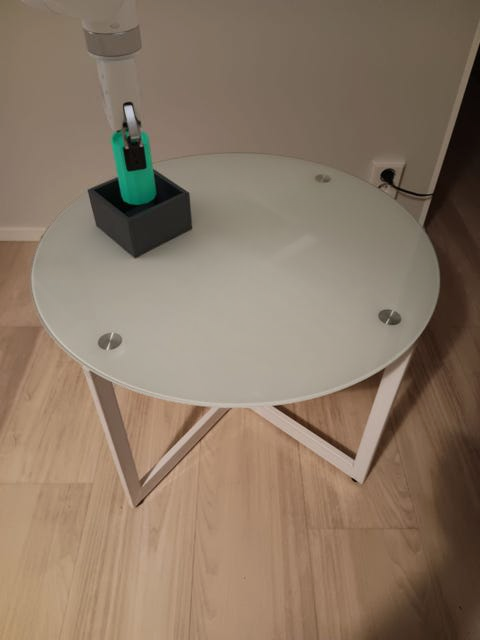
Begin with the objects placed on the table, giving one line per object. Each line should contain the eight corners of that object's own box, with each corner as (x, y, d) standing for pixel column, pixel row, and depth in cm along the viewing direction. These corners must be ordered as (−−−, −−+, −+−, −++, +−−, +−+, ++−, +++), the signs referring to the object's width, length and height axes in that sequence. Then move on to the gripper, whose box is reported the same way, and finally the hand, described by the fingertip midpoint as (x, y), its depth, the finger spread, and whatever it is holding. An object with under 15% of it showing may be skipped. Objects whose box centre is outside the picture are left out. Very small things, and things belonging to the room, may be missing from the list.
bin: (134, 258, 87) (127, 221, 82) (95, 225, 94) (87, 189, 88) (192, 228, 93) (189, 192, 87) (152, 199, 99) (147, 164, 94)
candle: (114, 200, 87) (101, 133, 78) (132, 182, 91) (121, 117, 82) (145, 207, 86) (135, 140, 77) (162, 189, 89) (154, 123, 81)
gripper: (78, 23, 75) (101, 138, 88) (94, 65, 64) (119, 190, 77) (128, 18, 77) (144, 132, 90) (153, 58, 66) (167, 182, 79)
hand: (132, 158), depth 83 cm, fingers closed on candle, 5 cm apart
